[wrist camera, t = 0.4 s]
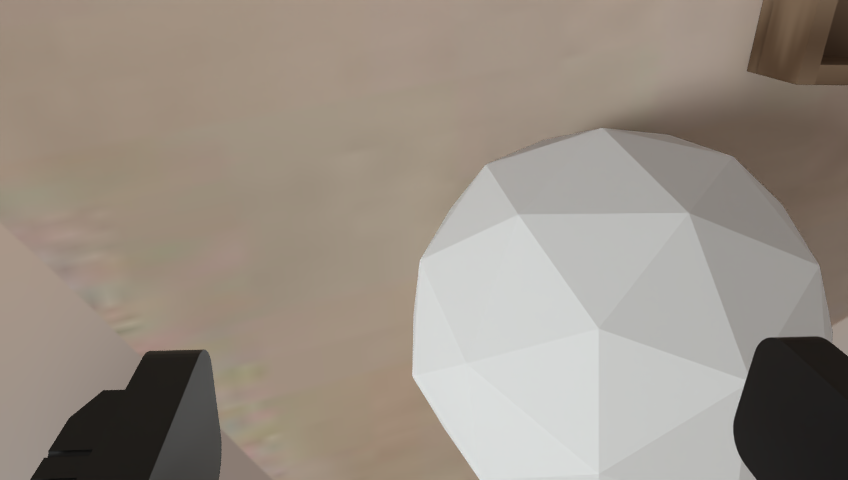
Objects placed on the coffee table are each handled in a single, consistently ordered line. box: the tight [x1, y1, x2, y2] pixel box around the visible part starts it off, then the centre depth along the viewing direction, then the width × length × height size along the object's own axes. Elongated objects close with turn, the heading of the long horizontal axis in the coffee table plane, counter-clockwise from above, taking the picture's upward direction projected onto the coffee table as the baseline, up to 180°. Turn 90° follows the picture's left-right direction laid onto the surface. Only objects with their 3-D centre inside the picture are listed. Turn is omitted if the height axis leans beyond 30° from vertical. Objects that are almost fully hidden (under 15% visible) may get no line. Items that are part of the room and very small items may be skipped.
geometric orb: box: [412, 128, 833, 480], centre depth 31 cm, size 19×20×20 cm
